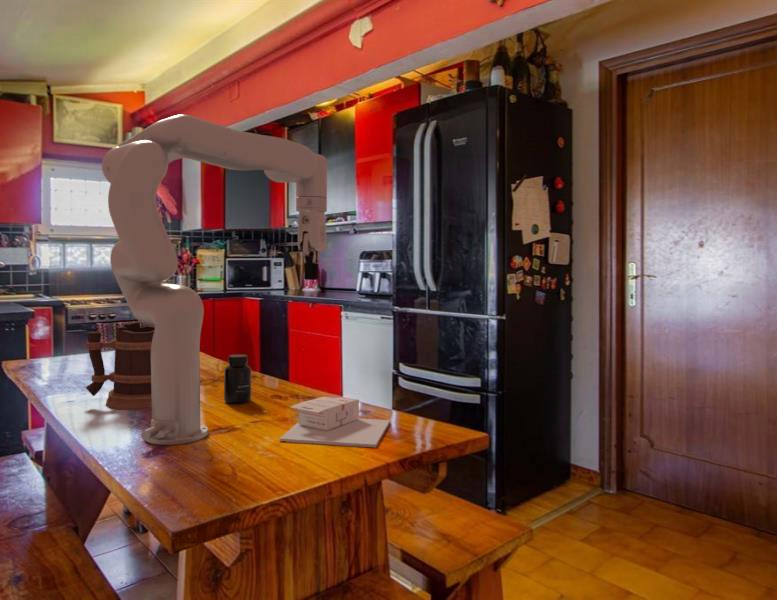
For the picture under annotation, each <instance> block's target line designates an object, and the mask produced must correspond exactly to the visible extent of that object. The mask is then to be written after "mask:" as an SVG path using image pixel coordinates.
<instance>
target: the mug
mask: <svg viewBox="0 0 777 600" xmlns="http://www.w3.org/2000/svg"><path fill="white" fill-rule="evenodd" d="M154 330H155V328H154V327H150V326H146V325H145V326H141V322H139V321H135V322H134V321H133V322H127V323H124V324H123V326H122V325H121V326H120V325H119V326H118V325H117V326H116V329H115V338H114V339H112V340H110V341H108V342H107V341H106V342H103V341H101V338H102V332H100V331H89V332H87V333H86V336H87V337H86V338H87V340H88V341H87V342H85V347H86V350H88V354H89V359H90V362H91V365H92V368H93V375H91V383H90V384H88V385H87V386H86V388H85V389H86V390H87V391H88V392H89V393H90V395H92V396H93V397H95V396H96V395H97V394H98V393H99V392H100V390H101V389H102V388H103V385H104V383H105V382H107V381H110V382H112V383H113V389H111V390H110V391H108V393H107V394H108V395H107V396H108V397H107V399H106V401H105V406H106V407H108V408H111V409H115V410H120V411H121V410H123V411H142V410H152V399H151V344H152V339H153V335H154ZM104 348H111V349H113V350H114V367H113V368H114V371H111V372H109V374H105V372H106V370H105V365H104V360H103V355H102V352H101V351H102V349H104Z"/></svg>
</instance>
